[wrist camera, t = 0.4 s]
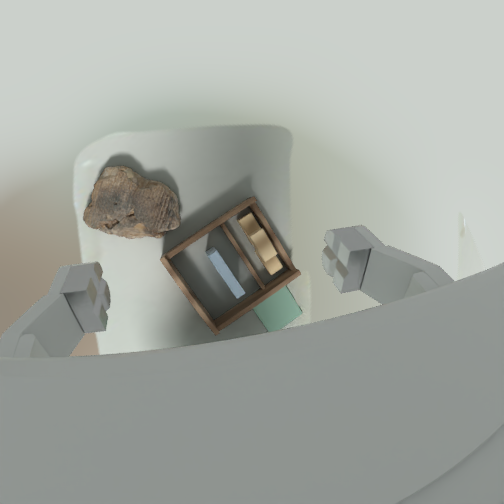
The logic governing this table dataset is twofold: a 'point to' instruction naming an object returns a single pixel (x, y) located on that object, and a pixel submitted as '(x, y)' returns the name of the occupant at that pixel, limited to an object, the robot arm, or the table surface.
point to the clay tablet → (131, 205)
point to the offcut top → (262, 244)
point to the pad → (278, 310)
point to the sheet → (225, 272)
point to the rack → (265, 290)
